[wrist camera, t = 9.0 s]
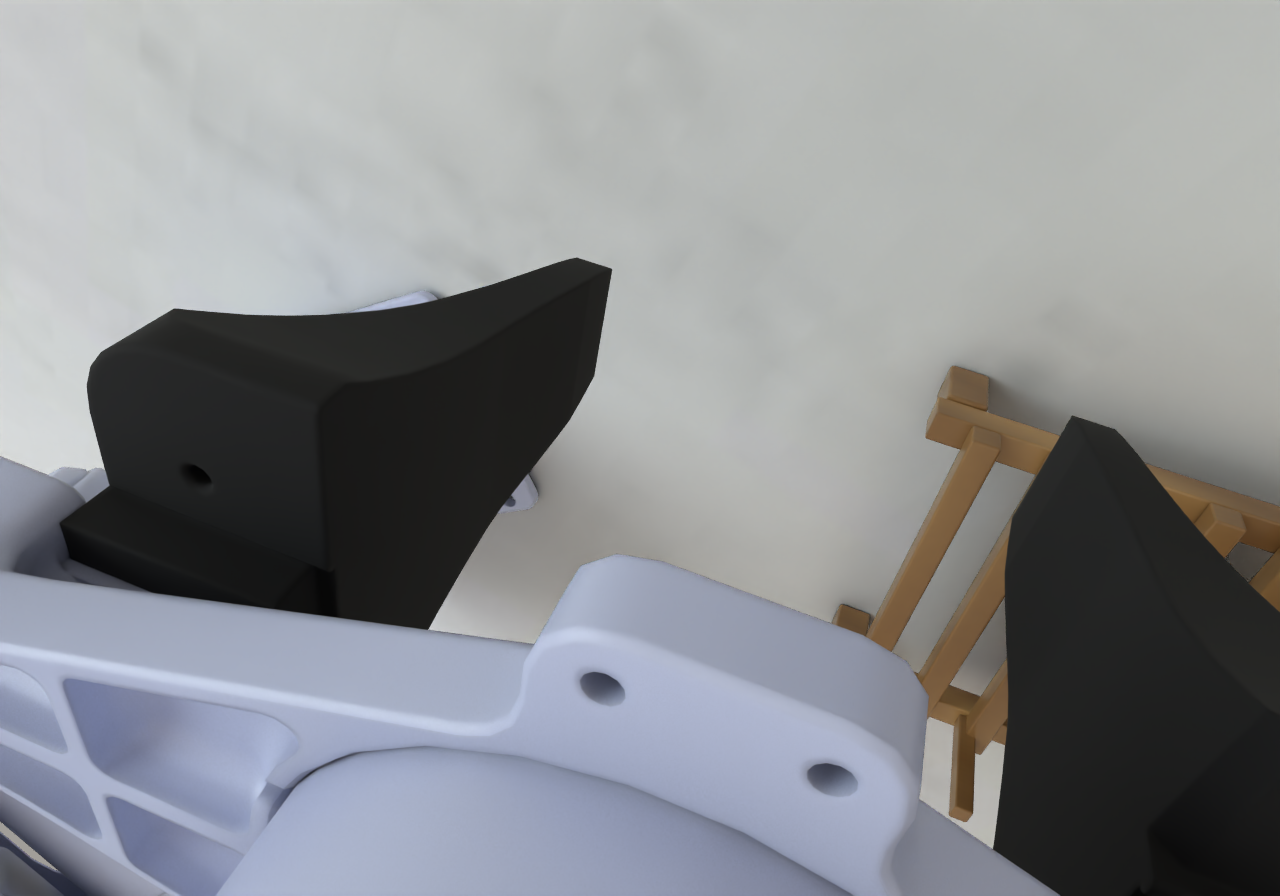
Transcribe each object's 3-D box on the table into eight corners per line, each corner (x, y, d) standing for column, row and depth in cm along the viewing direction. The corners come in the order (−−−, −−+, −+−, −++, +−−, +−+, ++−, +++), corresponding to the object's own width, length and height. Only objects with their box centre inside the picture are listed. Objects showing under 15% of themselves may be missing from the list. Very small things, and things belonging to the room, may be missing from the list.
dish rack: (825, 620, 29) (793, 761, 25) (944, 360, 23) (929, 488, 18) (1306, 798, 27) (1364, 987, 22) (1584, 563, 21) (1740, 763, 16)
